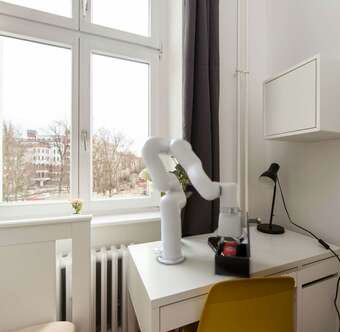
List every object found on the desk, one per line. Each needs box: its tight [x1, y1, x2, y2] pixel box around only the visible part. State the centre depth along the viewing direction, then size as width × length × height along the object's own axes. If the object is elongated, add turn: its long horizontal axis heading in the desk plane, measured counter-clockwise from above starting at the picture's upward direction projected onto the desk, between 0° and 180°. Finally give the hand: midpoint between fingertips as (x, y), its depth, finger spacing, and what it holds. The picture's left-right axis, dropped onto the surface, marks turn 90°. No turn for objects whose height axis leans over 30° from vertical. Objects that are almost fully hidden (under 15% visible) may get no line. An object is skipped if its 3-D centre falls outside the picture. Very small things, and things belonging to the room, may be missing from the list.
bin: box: [214, 240, 251, 279], centre depth 95 cm, size 14×18×8 cm
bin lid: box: [245, 211, 262, 258], centre depth 93 cm, size 14×18×6 cm
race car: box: [223, 241, 237, 257], centre depth 95 cm, size 13×5×4 cm, turn 162°
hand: (230, 251), depth 96 cm, fingers closed on race car, 5 cm apart
